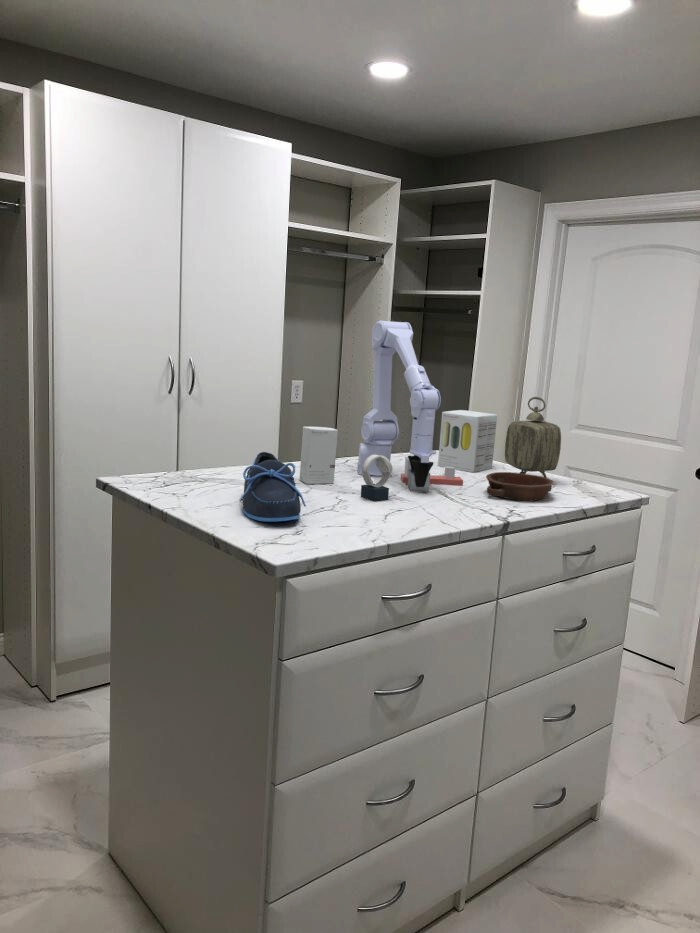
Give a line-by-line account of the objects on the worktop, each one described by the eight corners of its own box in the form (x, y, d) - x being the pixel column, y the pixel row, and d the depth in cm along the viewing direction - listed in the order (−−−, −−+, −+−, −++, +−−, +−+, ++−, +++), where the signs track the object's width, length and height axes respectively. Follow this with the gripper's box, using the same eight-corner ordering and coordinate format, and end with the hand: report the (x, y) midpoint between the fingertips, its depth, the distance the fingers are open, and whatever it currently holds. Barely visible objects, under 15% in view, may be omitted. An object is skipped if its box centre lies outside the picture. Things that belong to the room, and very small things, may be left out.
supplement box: (436, 466, 241) (440, 411, 238) (456, 462, 252) (461, 409, 248) (473, 473, 233) (478, 416, 230) (493, 468, 244) (498, 414, 241)
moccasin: (247, 530, 155) (250, 473, 153) (221, 492, 187) (223, 445, 185) (313, 528, 160) (316, 473, 157) (276, 491, 192) (278, 445, 189)
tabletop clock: (556, 485, 222) (566, 400, 218) (533, 487, 218) (543, 399, 213) (521, 475, 234) (530, 394, 230) (499, 476, 230) (507, 394, 225)
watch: (393, 499, 190) (397, 456, 188) (369, 502, 185) (372, 458, 183) (378, 494, 195) (381, 452, 193) (354, 497, 189) (357, 454, 187)
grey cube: (410, 491, 201) (411, 472, 200) (407, 487, 206) (408, 469, 205) (428, 492, 201) (430, 473, 201) (425, 488, 206) (427, 470, 205)
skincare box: (306, 484, 201) (309, 429, 199) (298, 479, 207) (301, 425, 204) (335, 483, 205) (338, 429, 202) (327, 479, 210) (330, 425, 207)
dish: (465, 492, 206) (466, 473, 205) (523, 486, 218) (524, 469, 217) (511, 506, 192) (513, 487, 191) (570, 500, 204) (572, 482, 203)
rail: (402, 482, 212) (404, 459, 211) (400, 479, 217) (402, 456, 216) (462, 485, 213) (464, 462, 212) (459, 481, 218) (461, 459, 217)
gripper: (442, 439, 194) (438, 491, 197) (432, 431, 208) (428, 479, 211) (415, 437, 194) (411, 489, 196) (407, 429, 208) (403, 478, 210)
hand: (418, 484), depth 203 cm, fingers closed on grey cube, 5 cm apart
